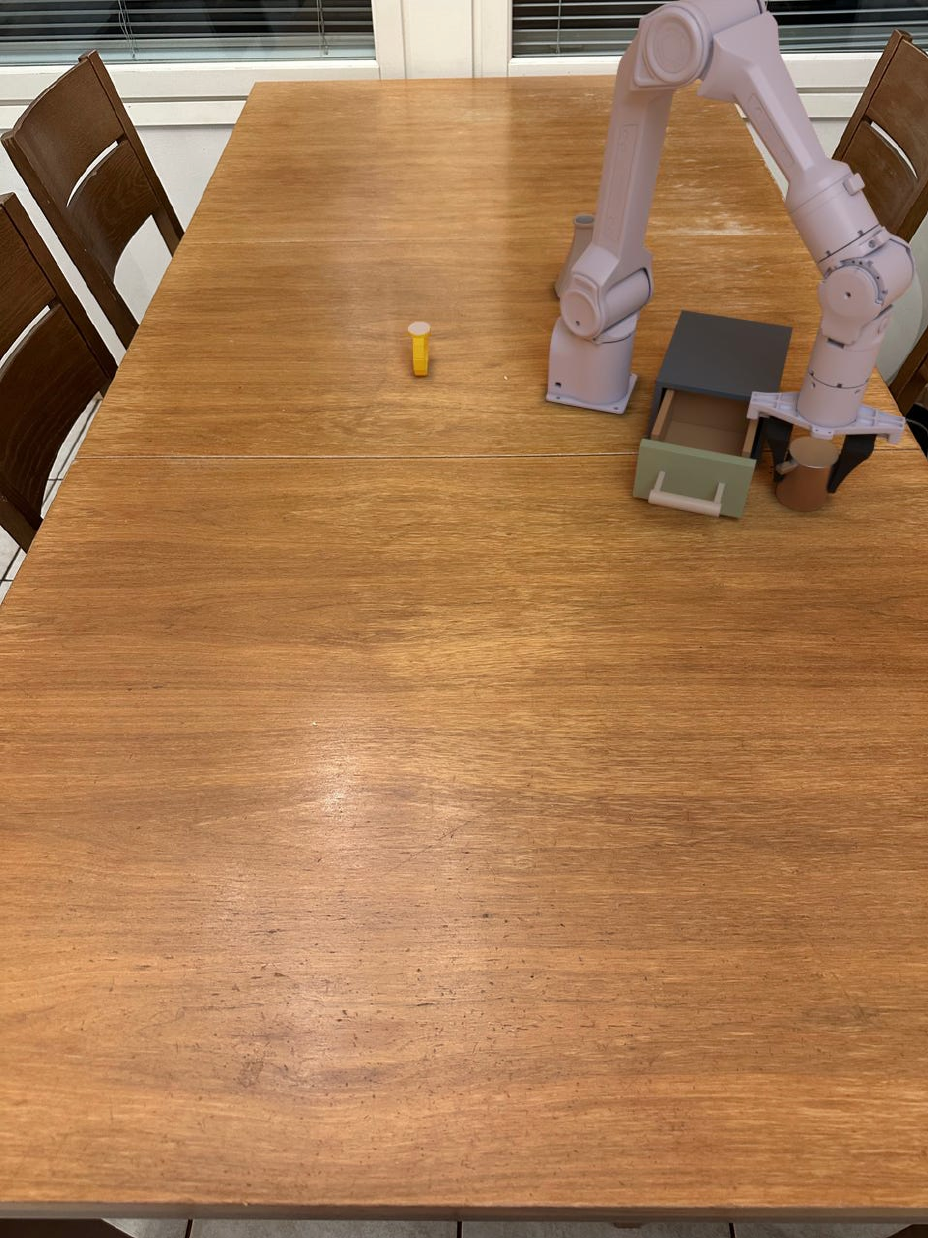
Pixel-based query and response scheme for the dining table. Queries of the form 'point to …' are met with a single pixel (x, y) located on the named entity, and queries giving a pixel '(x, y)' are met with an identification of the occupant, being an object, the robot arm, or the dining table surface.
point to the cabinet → (723, 362)
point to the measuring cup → (806, 473)
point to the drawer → (698, 455)
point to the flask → (576, 248)
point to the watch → (420, 346)
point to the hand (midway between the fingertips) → (804, 482)
